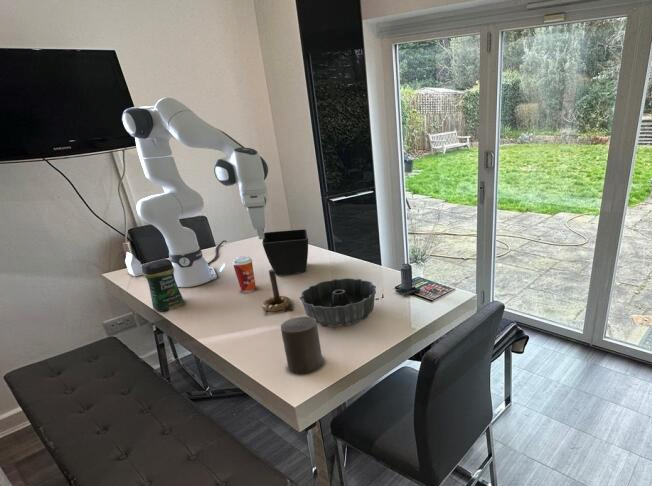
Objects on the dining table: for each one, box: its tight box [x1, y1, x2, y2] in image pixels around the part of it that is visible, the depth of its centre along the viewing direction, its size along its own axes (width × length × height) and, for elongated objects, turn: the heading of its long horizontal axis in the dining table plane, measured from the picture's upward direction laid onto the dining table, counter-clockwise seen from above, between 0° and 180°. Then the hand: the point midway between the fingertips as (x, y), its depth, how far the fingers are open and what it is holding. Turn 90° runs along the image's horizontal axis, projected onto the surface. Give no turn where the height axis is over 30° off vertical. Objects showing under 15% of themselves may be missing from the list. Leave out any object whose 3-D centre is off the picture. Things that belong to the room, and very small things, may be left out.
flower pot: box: [261, 228, 309, 276], centre depth 189 cm, size 19×19×17 cm
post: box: [265, 269, 293, 313], centre depth 152 cm, size 9×9×15 cm
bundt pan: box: [299, 277, 377, 328], centre depth 146 cm, size 26×26×10 cm
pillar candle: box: [280, 315, 324, 375], centre depth 117 cm, size 10×10×15 cm
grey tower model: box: [395, 263, 421, 297], centre depth 164 cm, size 9×8×12 cm
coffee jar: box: [141, 257, 184, 312], centre depth 154 cm, size 10×8×19 cm
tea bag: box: [124, 251, 143, 277], centre depth 188 cm, size 4×7×10 cm, turn 54°
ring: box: [261, 295, 292, 312], centre depth 153 cm, size 10×10×2 cm
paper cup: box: [231, 255, 256, 292], centre depth 168 cm, size 8×8×14 cm
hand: (261, 235), depth 148 cm, fingers open, 8 cm apart
